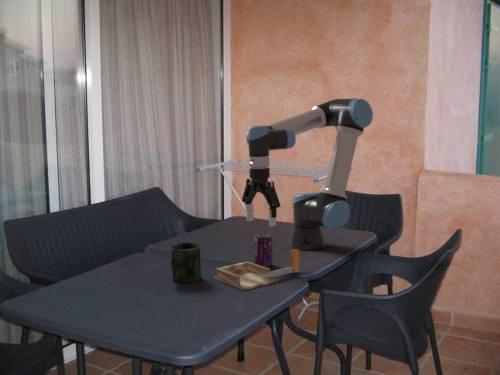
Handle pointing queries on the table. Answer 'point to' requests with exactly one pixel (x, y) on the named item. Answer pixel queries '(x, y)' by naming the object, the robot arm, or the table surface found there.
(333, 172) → the robot arm
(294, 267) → the lock bar
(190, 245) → the mug
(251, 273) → the wooden tray
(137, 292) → the table surface
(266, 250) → the beverage can
